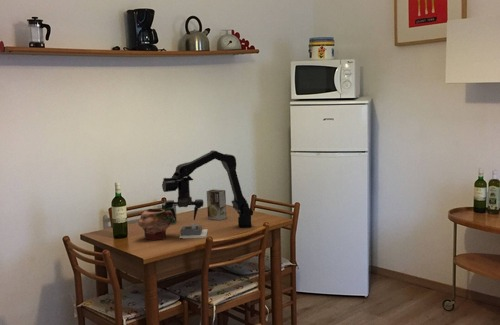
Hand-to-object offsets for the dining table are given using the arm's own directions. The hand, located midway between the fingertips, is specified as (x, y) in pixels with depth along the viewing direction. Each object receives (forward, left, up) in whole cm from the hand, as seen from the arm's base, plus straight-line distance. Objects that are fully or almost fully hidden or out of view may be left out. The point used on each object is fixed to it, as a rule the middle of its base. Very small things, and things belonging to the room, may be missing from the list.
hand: (185, 220), depth 277 cm
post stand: (-4, 0, -8) cm, 9 cm away
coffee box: (-14, -35, -8) cm, 39 cm away
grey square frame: (-3, 0, -6) cm, 7 cm away
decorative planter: (+14, +2, -8) cm, 16 cm away
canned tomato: (+12, -28, -8) cm, 31 cm away
